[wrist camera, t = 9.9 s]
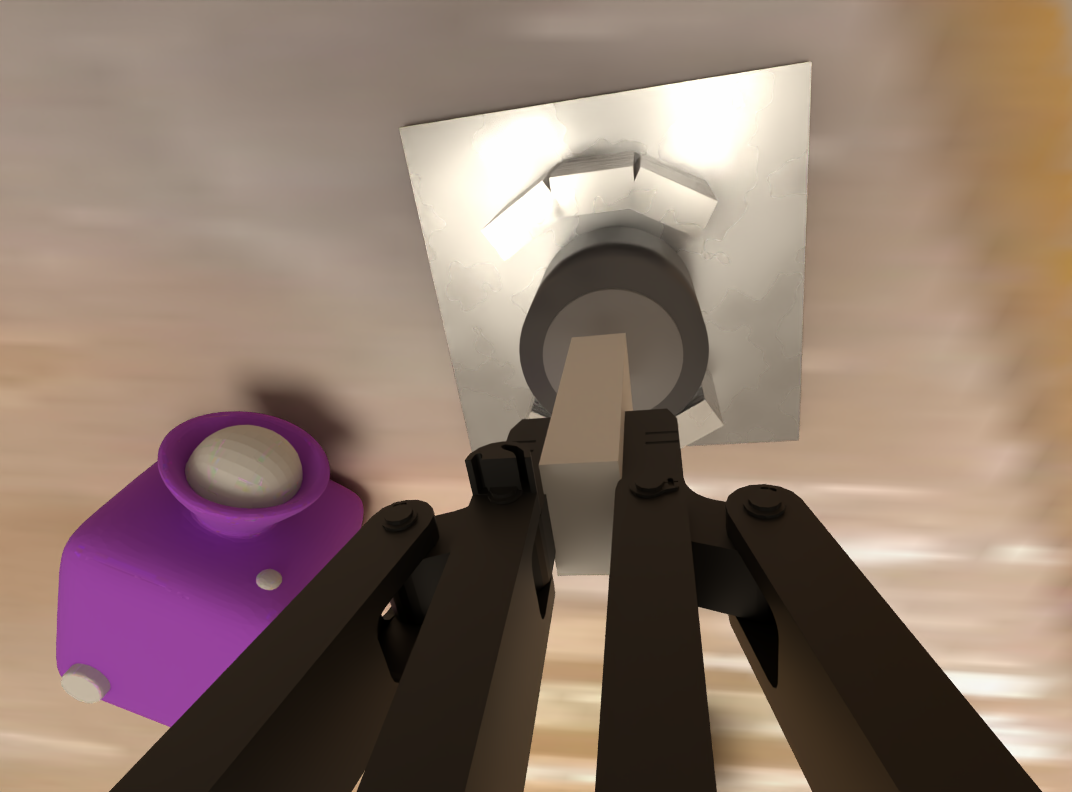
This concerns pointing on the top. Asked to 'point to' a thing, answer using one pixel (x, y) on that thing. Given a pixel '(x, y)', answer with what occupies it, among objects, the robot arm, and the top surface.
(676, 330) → the dark grey cylinder
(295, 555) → the toy camera
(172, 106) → the top surface
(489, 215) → the grey square plate
